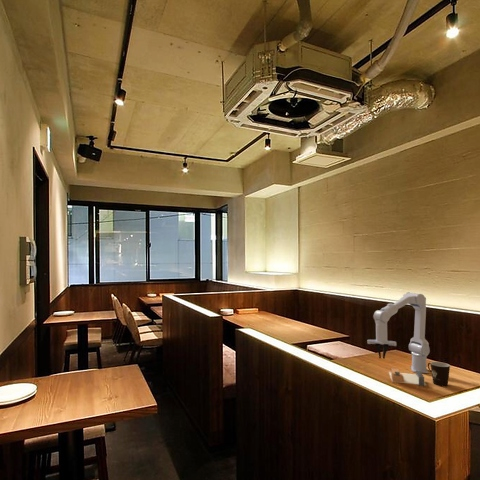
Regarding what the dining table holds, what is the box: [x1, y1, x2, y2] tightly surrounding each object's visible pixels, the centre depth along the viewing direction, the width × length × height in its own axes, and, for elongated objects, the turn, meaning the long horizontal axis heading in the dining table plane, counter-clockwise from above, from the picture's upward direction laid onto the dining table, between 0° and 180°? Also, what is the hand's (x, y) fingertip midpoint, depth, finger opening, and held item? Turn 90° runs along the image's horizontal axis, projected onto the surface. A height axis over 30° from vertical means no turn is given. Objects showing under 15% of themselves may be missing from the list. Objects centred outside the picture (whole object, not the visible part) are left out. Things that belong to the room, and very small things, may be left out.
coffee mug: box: [427, 361, 451, 388], centre depth 174 cm, size 12×9×10 cm
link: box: [390, 367, 404, 383], centre depth 182 cm, size 15×5×2 cm, turn 162°
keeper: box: [415, 371, 425, 387], centre depth 174 cm, size 9×2×4 cm, turn 162°
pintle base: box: [388, 371, 427, 386], centre depth 181 cm, size 16×16×4 cm
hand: (381, 358), depth 185 cm, fingers closed
